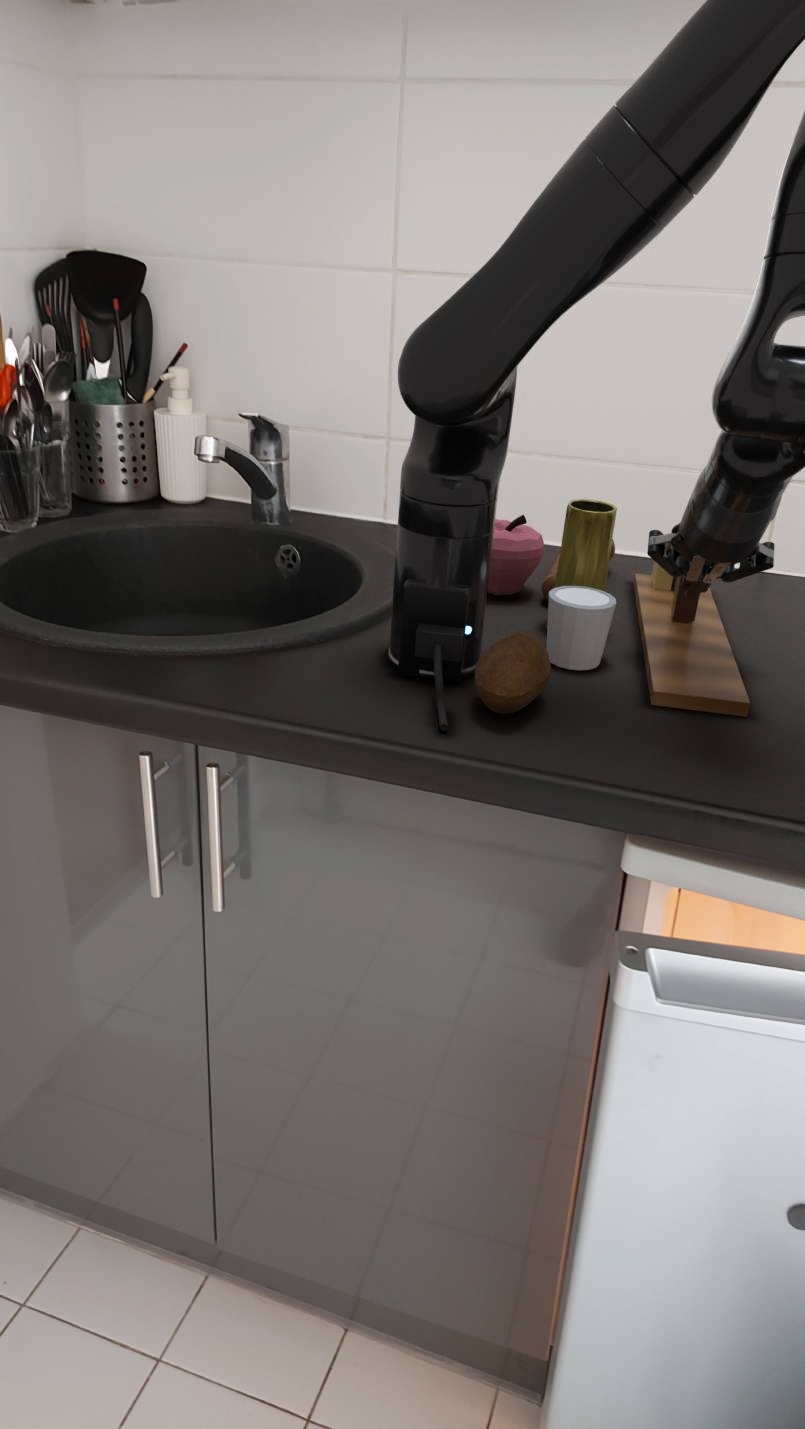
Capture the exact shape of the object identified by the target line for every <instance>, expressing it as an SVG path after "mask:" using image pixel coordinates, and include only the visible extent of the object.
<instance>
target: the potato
mask: <svg viewBox="0 0 805 1429" xmlns="http://www.w3.org/2000/svg"><path fill="white" fill-rule="evenodd" d="M551 668H552V667H551V663H550V660H549V655H548V652H547V647H546V646H545V645H544V643H543V642H542V640H541V639H540V638H538V637H537V636H536V635H535V634H533V633H532V632H530V631H523V630H518V631H514V632H511V633H508V634H505V635H504V636H502V637H501V638H499V639H498V640H497V641H495V642H493V643H492V644H491V645H490V646H489V647H488V648H487V649H486V650H485V651H484V652H483V653H481V656H480V658H479V660H478V663H477V665H476V668H475V672H474V686H475V690H476V693H477V696H478V697H479V699H480V700H481V701H482V703H483V704H484V706H485V707H486V708H488V710H490V711H491V712H493V713H495V714H499V715H509V714H514V713H516V712H518V711H520V710H522V709H523V708H526V706H528V705H529V704H531V702H532V701H534V700H535V699H536V698H537V697H538V696H539V695H540V694H541V693H542V691H543V690H544V689H545V687H546V686H547V685H548V683H549V681H550V677H551Z"/></svg>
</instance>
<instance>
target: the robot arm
mask: <svg viewBox="0 0 805 1429" xmlns="http://www.w3.org/2000/svg"><path fill="white" fill-rule="evenodd" d="M804 41H805V0H706V1H704V3H703V4H702V5H701V6H700V7H699V8H698V9H697V10H696V12H694V13H693V15H692V16H691V17H690V18H689V19H688V20H687V21H686V23H685V24H684V25H683V26H682V27H681V28H680V29H679V31H678V32H677V33H676V34H675V36H674V37H673V38H672V39H671V40H670V41H669V42H668V44H667V45H666V46H665V47H664V48H663V49H662V50H661V51H660V53H659V54H658V55H657V56H656V58H655V59H654V60H653V61H652V62H651V63H650V64H649V65H648V67H647V68H646V69H645V70H644V71H643V73H642V74H641V75H640V76H639V77H638V78H637V79H636V80H635V82H634V83H632V85H631V86H630V87H629V88H628V89H627V90H626V91H625V92H624V93H623V94H622V95H621V97H619V99H617V101H616V102H615V104H614V105H612V106H611V108H609V110H608V111H607V112H606V113H605V114H604V115H603V116H602V117H601V119H600V120H599V121H598V122H597V123H596V124H595V126H594V127H593V128H592V129H591V130H590V132H589V133H588V134H587V135H586V136H585V137H584V139H583V140H582V141H581V142H580V143H579V144H578V146H577V147H576V148H575V149H574V150H573V152H572V153H571V155H570V156H569V157H568V158H567V159H566V160H565V162H564V163H563V164H562V166H561V167H560V168H559V170H558V171H557V172H556V173H555V174H554V176H553V177H552V178H551V179H550V181H549V182H548V183H547V184H546V186H545V187H544V189H543V190H542V191H541V192H540V193H539V195H538V196H537V197H536V198H535V200H534V201H533V202H532V204H531V205H530V206H529V207H528V209H527V211H525V213H524V215H523V216H522V217H521V218H520V220H519V221H518V223H517V224H516V225H515V227H514V228H513V229H512V230H511V233H509V235H508V236H507V237H506V239H505V240H504V241H503V243H502V244H501V245H500V246H499V247H498V249H497V250H496V251H495V252H494V253H493V254H492V256H491V257H490V258H488V259H487V261H486V262H484V264H483V265H482V266H481V267H480V268H479V269H478V270H477V271H475V273H474V274H473V275H472V276H471V277H470V278H469V279H468V280H467V281H466V282H464V284H463V285H461V287H460V288H458V289H457V290H456V291H455V292H454V294H452V295H451V296H450V297H449V298H448V299H447V300H446V301H444V303H443V304H441V305H440V306H439V307H438V308H437V309H436V310H435V311H433V312H432V313H431V314H430V315H429V316H428V317H427V318H426V319H425V320H423V321H422V322H421V323H420V324H419V325H417V326H416V328H415V329H414V330H413V331H412V332H411V333H410V335H409V336H408V337H407V339H406V341H405V343H404V345H403V348H402V351H401V353H400V357H399V360H398V365H397V385H398V391H399V393H400V396H401V398H402V401H403V403H404V405H405V406H406V407H407V409H408V410H409V411H410V412H411V413H412V414H413V415H414V426H413V432H412V435H411V436H412V437H411V439H410V443H409V446H408V449H407V452H406V454H405V457H404V459H403V461H402V464H401V469H400V480H399V481H400V482H399V483H400V484H399V502H398V517H397V530H396V544H395V558H394V559H395V560H394V576H393V589H392V590H393V592H392V606H391V620H390V621H391V622H390V623H391V624H390V640H389V648H388V654H387V655H388V656H387V658H388V662H389V663H390V664H391V665H392V666H393V668H395V669H396V670H397V675H399V676H407V677H414V678H422V679H431V680H434V689H435V699H436V700H435V701H436V709H437V718H438V724H439V729H440V731H441V732H446V731H447V730H448V729H449V722H448V715H447V707H446V699H445V691H444V690H445V689H444V681H446V682H447V681H448V682H456V683H459V682H461V680H462V678H464V677H467V676H470V675H472V674H475V668H476V665H477V663H478V660H479V658H480V656H481V655H482V646H483V636H484V626H485V617H486V608H487V598H488V597H487V596H488V593H487V590H488V580H489V571H490V562H491V553H492V543H493V534H494V527H495V519H496V518H497V507H498V497H499V490H500V483H501V478H502V473H503V470H504V467H505V464H506V461H507V455H508V451H509V450H508V449H509V441H510V436H511V434H510V433H511V428H512V420H513V413H514V404H515V396H516V389H517V380H518V379H517V378H518V366H519V364H520V363H521V362H522V361H523V360H524V358H526V356H527V355H528V353H530V351H531V350H532V349H533V348H534V346H535V345H536V344H537V343H538V342H539V340H541V338H542V337H543V336H544V335H545V334H546V333H547V332H548V331H549V329H550V328H551V327H552V326H553V325H554V324H555V323H556V322H557V321H558V320H559V319H560V318H561V317H562V316H563V315H565V314H566V313H567V312H568V311H569V310H570V309H572V307H574V306H575V305H576V304H577V303H579V302H580V301H581V300H582V299H584V298H585V297H586V296H588V295H589V294H590V293H592V292H593V291H594V290H595V289H597V288H598V287H600V286H601V285H602V284H603V283H605V282H606V281H607V280H609V279H610V278H611V277H613V275H615V274H616V273H617V272H618V271H620V270H621V269H622V268H623V267H624V266H626V265H627V264H628V263H629V262H630V261H632V259H634V258H635V257H636V256H637V255H638V254H639V253H641V252H642V251H643V250H644V249H645V248H646V247H647V246H649V244H650V243H652V242H653V240H654V239H656V238H657V237H658V236H659V235H660V234H661V233H662V232H663V231H664V230H665V228H667V227H668V226H669V225H670V224H671V223H672V222H673V221H674V220H675V219H676V217H677V216H678V215H680V213H681V212H682V211H683V210H684V209H685V208H686V207H687V206H688V205H689V204H691V202H692V201H693V200H694V199H695V197H696V196H698V195H699V194H700V193H701V192H702V191H703V189H704V188H705V187H706V186H707V185H708V183H709V182H710V181H711V180H712V179H713V178H714V176H715V175H716V174H717V172H718V171H719V170H720V168H721V167H722V165H723V164H724V162H725V161H726V159H727V158H728V157H729V155H730V153H731V151H732V150H733V149H734V147H735V145H736V144H737V142H738V140H740V137H741V135H742V134H743V132H744V130H745V129H746V128H747V126H748V124H749V123H750V121H751V119H752V117H753V116H754V113H755V111H756V110H757V109H758V107H759V105H760V103H761V102H762V100H763V98H764V96H765V95H766V93H767V91H768V90H769V88H770V87H771V85H772V83H773V82H774V81H775V78H776V77H777V75H779V73H780V71H781V70H782V69H783V67H784V65H785V64H786V62H787V61H788V60H789V59H790V58H791V56H792V55H793V54H794V53H795V51H796V50H797V49H798V48H799V47H800V45H801V44H802V43H803V42H804ZM789 148H790V149H789V151H788V153H787V157H786V159H785V162H784V165H783V168H782V172H781V175H780V178H779V182H778V186H777V189H776V194H775V197H774V201H773V206H772V211H771V215H770V222H769V225H768V226H769V227H768V232H767V236H766V242H765V248H764V252H763V257H762V263H761V268H760V272H759V276H758V280H757V284H756V287H755V290H754V294H753V297H752V299H751V302H750V305H749V307H748V310H747V313H746V315H745V317H744V320H743V323H742V325H741V328H740V329H739V332H738V334H737V335H736V338H735V340H734V342H733V344H732V346H731V348H730V350H729V352H728V354H727V356H726V358H725V360H724V362H723V364H722V366H721V368H720V370H719V373H718V375H717V378H716V380H715V383H714V386H713V389H712V394H711V412H712V414H713V417H714V421H715V422H716V425H717V426H718V428H719V429H720V430H721V431H720V433H719V435H718V436H717V439H716V440H715V443H714V446H713V448H712V450H711V452H710V455H709V457H708V460H707V462H706V465H705V466H704V467H703V469H702V470H701V472H700V474H699V476H698V478H697V479H696V481H695V485H694V487H693V490H692V492H691V494H690V497H689V500H688V502H687V505H686V507H685V510H684V512H683V515H682V517H681V519H680V522H678V523H677V524H675V525H674V526H673V527H672V528H671V532H669V533H663V532H662V531H661V530H659V529H651V530H650V531H649V532H648V540H647V553H646V554H647V556H648V557H649V558H651V559H652V560H653V562H654V561H655V562H656V563H657V564H658V565H660V566H661V567H662V568H663V569H664V570H665V571H666V572H667V573H668V574H670V575H671V576H673V577H679V576H681V575H682V576H681V590H685V595H691V596H700V594H701V592H702V593H705V592H707V591H708V589H709V588H711V585H712V583H714V582H715V581H716V580H718V579H721V581H722V582H723V583H727V584H728V583H733V582H736V581H739V580H742V579H745V578H747V577H750V576H753V575H756V574H758V573H762V572H765V571H767V570H771V569H773V568H774V565H775V547H776V546H775V545H776V544H775V543H774V542H772V541H765V542H762V543H761V542H760V541H761V540H762V537H763V536H764V534H765V533H766V531H767V529H768V527H769V525H770V524H771V522H772V521H773V520H774V519H775V517H776V515H777V512H778V509H779V507H780V505H781V501H782V498H783V495H784V493H785V491H786V489H787V488H788V486H789V484H790V483H791V481H792V479H793V477H794V476H796V475H797V474H799V473H800V472H801V471H802V470H804V469H805V346H803V345H796V344H795V345H794V344H787V343H777V342H775V338H776V336H777V334H778V331H779V330H780V328H782V326H783V325H784V324H785V323H786V322H787V321H791V320H792V319H795V318H800V317H805V109H804V111H803V113H802V116H801V119H800V122H799V125H798V127H797V130H796V133H795V135H794V138H793V141H792V143H791V144H790V147H789ZM737 564H739V567H738V568H736V569H735V565H737Z"/></svg>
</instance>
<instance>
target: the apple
mask: <svg viewBox="0 0 805 1429" xmlns="http://www.w3.org/2000/svg"><path fill="white" fill-rule="evenodd" d="M527 523H528V522H527V518H526V516H525V515H524V514H522V515H520V516H518V517H516V518H515V519H513V520H512V521H510V520H509V519H498V518H495V527H494V534H493V543H492V553H491V562H490V571H489V580H488V590H487V594H489V595H494V596H497V597H498V596H499V597H500V596H511V595H515V594H516V593H519V592H520V591H521V590H522V588H523V587H524V586H525V584H526V583H527V581H528V579H530V577H531V576H532V575H533V573H534V572H535V570H536V569H537V567H538V566H539V565H540V563H541V561H542V558H543V555H544V552H545V541H544V538H543V535H542V533H540V532H539V531H537V530H536V529H534V528H533V527H532V526H529V525H526V524H527Z"/></svg>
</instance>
